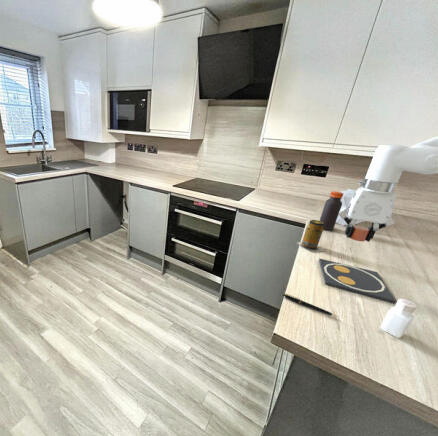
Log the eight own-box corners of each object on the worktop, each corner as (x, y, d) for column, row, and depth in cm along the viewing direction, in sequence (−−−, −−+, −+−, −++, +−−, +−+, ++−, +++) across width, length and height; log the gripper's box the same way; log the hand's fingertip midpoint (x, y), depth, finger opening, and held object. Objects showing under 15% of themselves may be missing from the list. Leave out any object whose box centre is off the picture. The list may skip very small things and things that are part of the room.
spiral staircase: (329, 230, 134) (335, 217, 151) (371, 227, 121) (372, 213, 138) (321, 200, 132) (328, 190, 149) (363, 193, 119) (365, 183, 136)
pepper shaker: (404, 333, 62) (421, 305, 58) (399, 339, 60) (416, 310, 56) (384, 323, 65) (399, 295, 61) (378, 328, 63) (394, 300, 59)
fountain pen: (338, 317, 66) (339, 313, 66) (338, 320, 65) (339, 316, 65) (281, 295, 74) (282, 291, 74) (280, 297, 73) (282, 293, 73)
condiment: (309, 242, 110) (317, 218, 106) (325, 251, 102) (334, 226, 98) (296, 243, 109) (303, 219, 104) (311, 252, 101) (319, 226, 97)
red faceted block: (363, 237, 81) (367, 227, 80) (367, 242, 78) (371, 231, 76) (347, 234, 83) (351, 224, 82) (350, 239, 80) (354, 228, 78)
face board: (376, 274, 87) (377, 271, 87) (395, 303, 72) (396, 300, 72) (318, 260, 95) (319, 258, 95) (324, 284, 80) (325, 281, 80)
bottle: (316, 228, 126) (328, 192, 119) (318, 224, 131) (330, 190, 123) (331, 232, 122) (344, 195, 114) (333, 228, 126) (346, 192, 119)
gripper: (347, 184, 74) (329, 236, 81) (421, 193, 67) (394, 249, 74) (342, 180, 80) (325, 228, 87) (409, 187, 73) (385, 239, 80)
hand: (357, 237), depth 80 cm, fingers closed on red faceted block, 4 cm apart
